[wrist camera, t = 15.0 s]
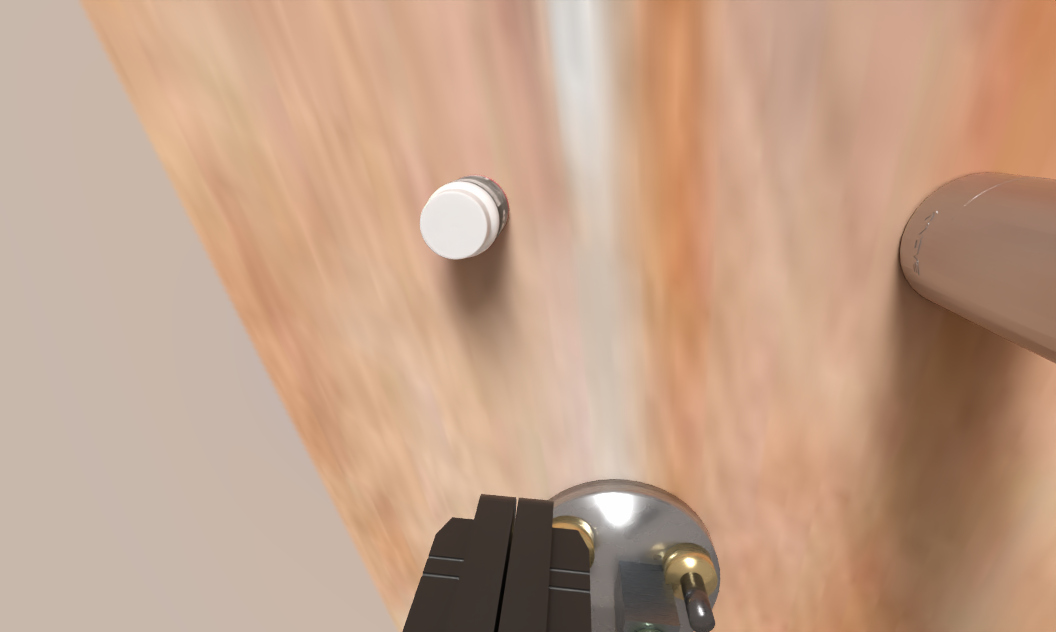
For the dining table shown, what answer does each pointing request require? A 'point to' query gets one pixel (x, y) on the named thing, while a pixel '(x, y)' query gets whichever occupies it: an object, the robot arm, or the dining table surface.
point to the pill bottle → (464, 217)
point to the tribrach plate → (645, 558)
